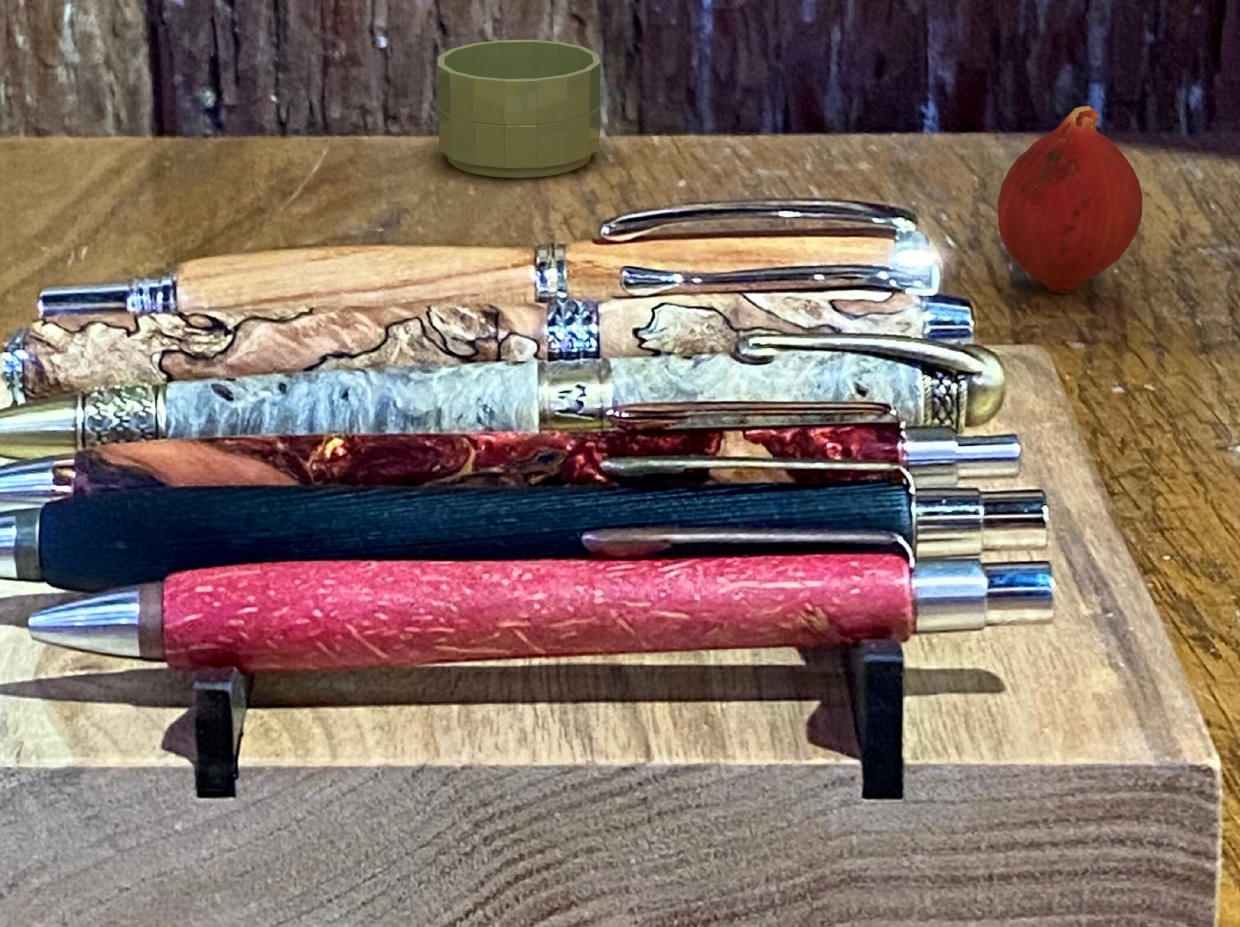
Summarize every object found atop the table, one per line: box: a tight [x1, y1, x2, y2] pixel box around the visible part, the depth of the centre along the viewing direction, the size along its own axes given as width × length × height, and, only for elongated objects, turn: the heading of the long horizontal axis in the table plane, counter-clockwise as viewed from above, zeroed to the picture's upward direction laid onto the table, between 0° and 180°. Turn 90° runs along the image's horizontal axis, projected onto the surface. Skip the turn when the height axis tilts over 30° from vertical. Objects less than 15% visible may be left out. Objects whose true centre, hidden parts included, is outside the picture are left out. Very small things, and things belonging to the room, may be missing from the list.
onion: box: [996, 105, 1143, 295], centre depth 94 cm, size 6×6×8 cm
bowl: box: [437, 39, 601, 179], centre depth 114 cm, size 8×8×5 cm
